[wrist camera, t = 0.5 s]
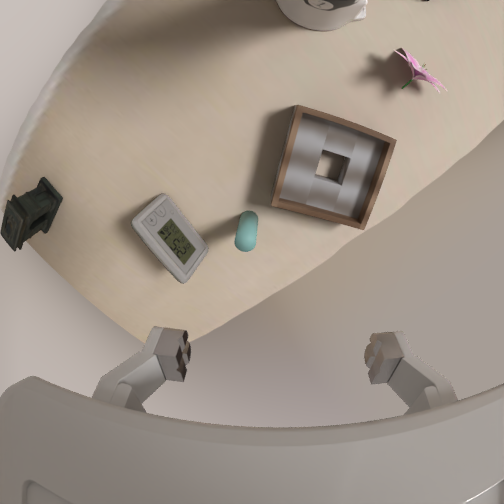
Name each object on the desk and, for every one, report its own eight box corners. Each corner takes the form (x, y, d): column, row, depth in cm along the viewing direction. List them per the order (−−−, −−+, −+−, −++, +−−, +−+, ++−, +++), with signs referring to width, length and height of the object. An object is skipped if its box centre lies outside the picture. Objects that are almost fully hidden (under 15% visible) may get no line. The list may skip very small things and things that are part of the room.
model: (43, 174, 52) (3, 196, 39) (64, 196, 55) (25, 222, 42) (30, 212, 57) (-5, 237, 44) (49, 232, 60) (16, 260, 47)
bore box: (294, 105, 44) (298, 104, 38) (383, 135, 45) (396, 140, 40) (270, 195, 53) (271, 205, 47) (355, 217, 54) (363, 230, 48)
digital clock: (212, 251, 60) (202, 279, 51) (178, 263, 62) (164, 291, 53) (179, 184, 53) (160, 203, 43) (143, 201, 55) (121, 221, 45)
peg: (242, 208, 54) (236, 230, 46) (259, 213, 55) (257, 235, 46) (238, 225, 56) (232, 249, 48) (255, 228, 56) (253, 253, 48)
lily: (435, 100, 40) (462, 81, 30) (408, 119, 39) (439, 98, 30) (398, 55, 39) (420, 32, 30) (366, 69, 39) (389, 41, 29)
